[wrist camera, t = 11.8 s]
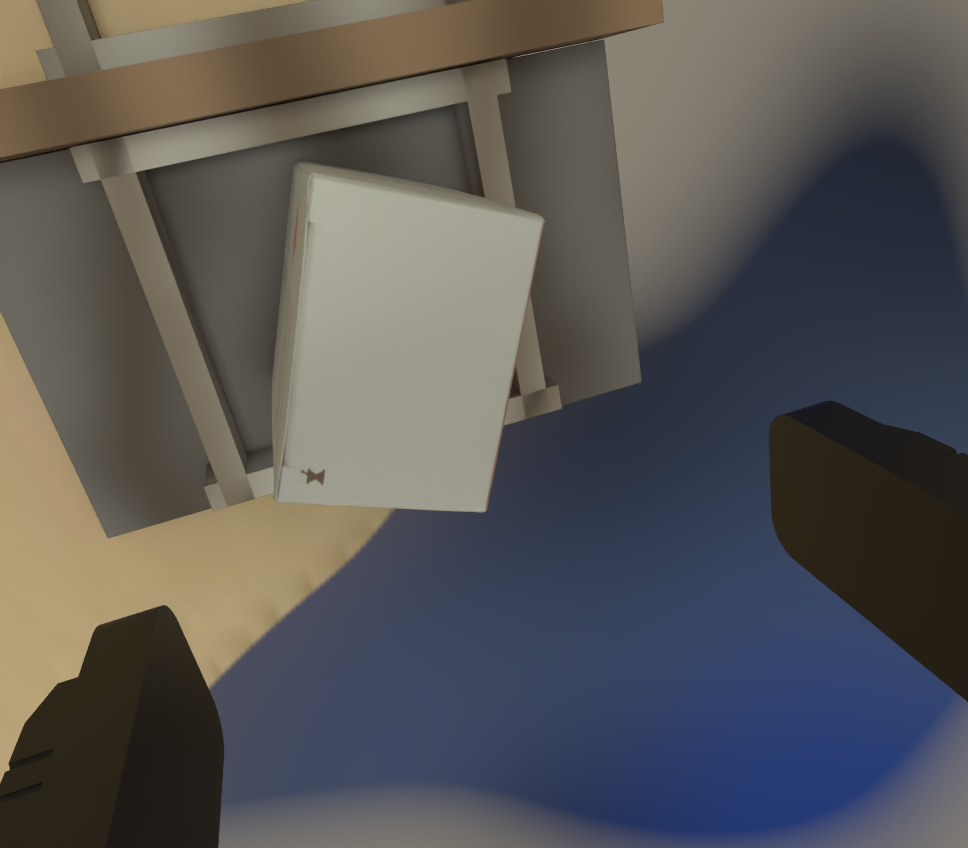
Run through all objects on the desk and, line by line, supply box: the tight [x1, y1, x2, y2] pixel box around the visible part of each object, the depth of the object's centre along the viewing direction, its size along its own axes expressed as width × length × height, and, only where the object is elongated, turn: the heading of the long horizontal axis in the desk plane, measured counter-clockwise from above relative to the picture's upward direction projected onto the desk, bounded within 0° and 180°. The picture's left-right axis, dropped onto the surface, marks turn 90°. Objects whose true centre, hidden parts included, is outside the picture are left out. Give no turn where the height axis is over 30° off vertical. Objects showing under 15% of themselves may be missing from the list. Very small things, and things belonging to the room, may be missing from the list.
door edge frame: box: [0, 0, 664, 538], centre depth 23 cm, size 22×27×5 cm
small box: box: [272, 160, 545, 512], centre depth 22 cm, size 8×6×10 cm
